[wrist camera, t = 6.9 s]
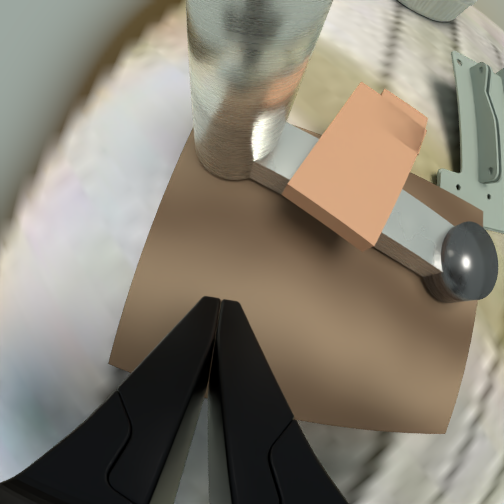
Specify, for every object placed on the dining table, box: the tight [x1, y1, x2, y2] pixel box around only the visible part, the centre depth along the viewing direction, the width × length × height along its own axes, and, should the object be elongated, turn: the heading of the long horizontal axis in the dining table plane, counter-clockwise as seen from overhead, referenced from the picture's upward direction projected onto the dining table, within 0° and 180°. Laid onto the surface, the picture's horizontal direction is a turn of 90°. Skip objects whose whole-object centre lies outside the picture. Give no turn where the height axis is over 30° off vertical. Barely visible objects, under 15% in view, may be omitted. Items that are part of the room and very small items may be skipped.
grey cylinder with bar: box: [186, 0, 498, 303], centre depth 9 cm, size 16×4×11 cm, turn 63°
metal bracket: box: [437, 51, 504, 234], centre depth 17 cm, size 14×6×15 cm
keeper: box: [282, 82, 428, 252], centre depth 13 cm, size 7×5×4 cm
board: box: [108, 125, 483, 434], centre depth 14 cm, size 13×17×1 cm
